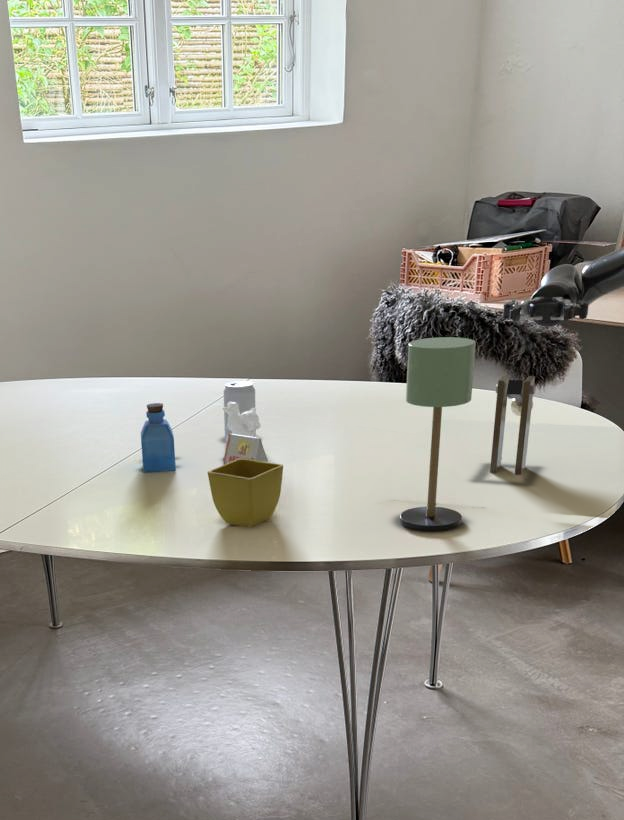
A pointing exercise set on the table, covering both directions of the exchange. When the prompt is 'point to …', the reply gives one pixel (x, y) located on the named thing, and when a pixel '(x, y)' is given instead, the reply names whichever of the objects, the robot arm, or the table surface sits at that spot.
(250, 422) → the white animal figurine
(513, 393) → the lamp switch
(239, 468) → the flower pot
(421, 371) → the desk lamp
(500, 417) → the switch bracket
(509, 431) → the table surface
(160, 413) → the blue corked bottle
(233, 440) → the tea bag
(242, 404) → the beverage can
